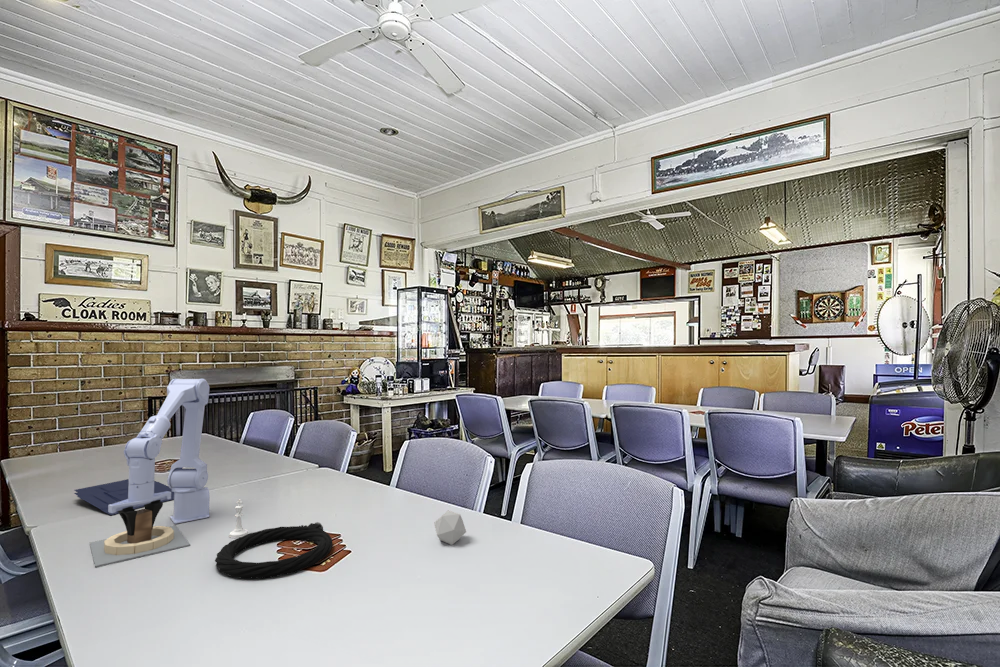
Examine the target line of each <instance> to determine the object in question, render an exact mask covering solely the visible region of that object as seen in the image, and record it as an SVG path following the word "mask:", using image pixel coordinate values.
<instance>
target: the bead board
mask: <svg viewBox="0 0 1000 667" xmlns="http://www.w3.org/2000/svg"><path fill="white" fill-rule="evenodd" d="M89 546H90V550H91V556H92V560H93V564H94V568H100V567H103V566H108V565H113V564H117V563H121V562H125V561H129V560H135V559H139V558H142V557H147V556H151V555H155V554H161V553H165V552H169V551H173V550H178V549H182V548H186V547H190V546H191V543H190V542H189V541H188V539H187V537H186V536H185V535H184V534H183V532H182V531H181V530H180V528H179V527H178V526H177V525H176V524H174V525H170V526H164V525H156V526H155V525H153V529H152V535H151V540H149V541H144V542H139V543H132V544H130V543H127V530H124V531H122V532H118V533H116V534H113V535H111V536H110V537H108V538H105V539H101V540H95V541H91V542H89Z"/></svg>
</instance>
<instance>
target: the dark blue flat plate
mask: <svg viewBox="0 0 1000 667" xmlns="http://www.w3.org/2000/svg"><path fill="white" fill-rule="evenodd" d="M128 487H129V478H127V479H123V480H118V481H113V482H108V483H102V484H98V485H92V486H87V487H82V488H77V489H74V490H73V491H75V492H74V493H73V494H74V495H76V497H77V498H79V499H81V500H83V501H85V502H87V503H89V504H90V505H92V506H94V507H96V508H97V509H99V510H100V511H102V512H104V513H105V514H107V515H110V516H113V515H114V516H115V515H116V514H119V513H118V511H116V512H115V513H109V512H108V505H110V504H114V503H117V502H120V501H123V500H126V499H128ZM166 491H169V492H171V499H168V500H166V499H165V500H161V501H160V502H162V503H163V502H164V503H165V502H169V501H174V492H172V489H171V488H169V486H168V485H166V484H164V483H162V482H160V481H156V480H154V493H161V492H166ZM140 508H145V507H144V505H141V506H137V507H133V509H134V510H135V509H136V510H137V509H140Z"/></svg>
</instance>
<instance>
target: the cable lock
mask: <svg viewBox="0 0 1000 667" xmlns="http://www.w3.org/2000/svg"><path fill="white" fill-rule="evenodd" d="M286 540H287V541H289V540H299V541H300V540H301V541H309V542H312V543H315V544H317V546H316V547H315V548H314V549H311V550H308V551H306V552H303V553H301V554H298V555H296V556H292V557H288V558H284V559H279V560H273V561H272V560H269V561H261V562H252V561H251V562H250V561H241V560H237V559H234V556H236V555H237V554H240V552H243V551H245V550H247V549H249V548H252V547H255V546H257V545H258V546H259V545H261V544H266V543H271V542H272V543H273V542H276V541H286ZM332 548H333V539H332V537H331V536H330V534H328V533H327V532H326V531H325V530H324V525H322V523H321V522H318V521H317V522H314V523H310V524H308V525H303V524H302V525H299V526H297V525H296V526H295V525H294V526H278V527H273V528H266V529H261V530H259V531H255V532H250V533H249V532H248V534H247V535H245V536H242V537H239V538H234V540H230V541H229V542H228V543H227V544H225V545H223V547H221V549H220V550H219V552H218V553H216V557H215V560H214V562H215V563H216V564H215V567H216V568H217V569H218V571H219V572H220V573H222V574H224V575H227V576H228V577H230V578H237V579H238V578H240V579H244V580H253V579H270V578H276V577H279V576H284V575H285V576H286V575H289V574H295V573H297V572H299V571H301V570H304V569H307V568H310V567H312V566H315V565H316V564H318V563H319V562H321V561H322V560H323V559H324V558H326V557H327V556H328V554H330V552H331V550H332Z"/></svg>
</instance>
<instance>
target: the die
mask: <svg viewBox="0 0 1000 667" xmlns="http://www.w3.org/2000/svg"><path fill="white" fill-rule="evenodd" d="M434 528H435V533H436V536H437V538H438V540H439V541H441V542H443V543H446V544H447V545H451V546H453V545H454V544H455V543H457V541H458V540H460V539H461V537H463V536H464V535H465V534H466V533H467V530H466V526H465V522H464V521H463V518H462V515H461V514H460V513H458V512H455V511H451V510H447V511H445V512H444V513H443V514H442V515H441V516H440V517H439V518H438V519H436V521H434Z"/></svg>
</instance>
